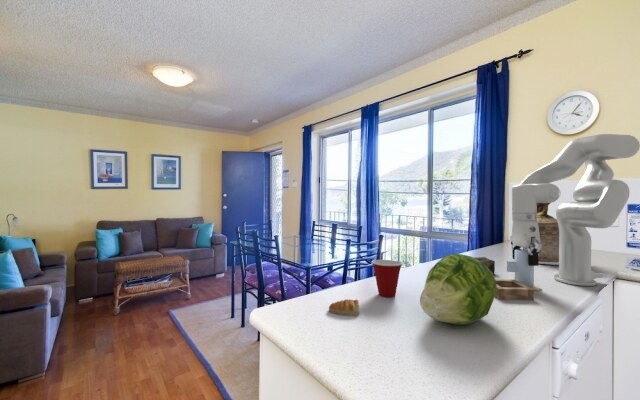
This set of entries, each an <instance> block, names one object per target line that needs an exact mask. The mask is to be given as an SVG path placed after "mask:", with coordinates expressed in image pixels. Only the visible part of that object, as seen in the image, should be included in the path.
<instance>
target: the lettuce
mask: <svg viewBox="0 0 640 400" xmlns="http://www.w3.org/2000/svg"><path fill="white" fill-rule="evenodd" d="M474 257H475V256H471V255H466V254H462V253H452V254H449V255H444V256H443V257H442V258H441V259H439V260H438V261H437V262H436V263H435V264H434V265H433V266H432V267H431V268H430V269H429V271H428V274H427V276H426V280H425V284H424V287H423V289H422V291H421V294H420V297H419V305H420V307H421V309H422V311H423V312H424V313H425V315H427V316H428V317H430V318H431V319H434V320H436V321H438V322H443V323H448V324H450V325H469V324H472V323H474V322H476V321H479V320H481V319H483V318H484V317H486V316H488V314H489V312H490V310H491V307H492V306H493V305H492V304H493V302H494V300H495V298H496V297H495V294H496V292H497V286H496V280H495V279H496V278H495V277H494V274H492V272H491V271H490V270H489V268H488V267H487V266H486V265H485V264H484V263H483V262H481V261H479V260H478V259H476V258H474Z"/></svg>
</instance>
